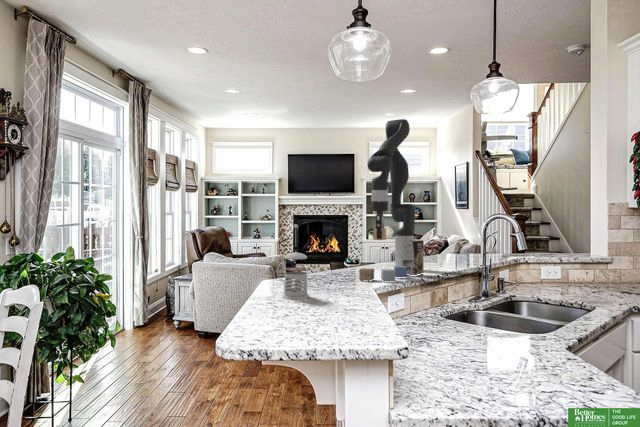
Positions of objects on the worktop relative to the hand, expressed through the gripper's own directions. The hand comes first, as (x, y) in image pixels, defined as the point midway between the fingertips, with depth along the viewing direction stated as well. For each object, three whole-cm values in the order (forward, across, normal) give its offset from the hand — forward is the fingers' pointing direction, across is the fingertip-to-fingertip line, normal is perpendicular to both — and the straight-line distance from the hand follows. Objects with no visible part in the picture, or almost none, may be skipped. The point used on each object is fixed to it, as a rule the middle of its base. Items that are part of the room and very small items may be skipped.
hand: (379, 238), depth 201 cm
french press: (+18, +53, -24) cm, 61 cm away
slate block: (+17, +11, +4) cm, 21 cm away
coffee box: (+18, -9, +14) cm, 25 cm away
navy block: (+17, 0, +9) cm, 20 cm away
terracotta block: (0, 0, 0) cm, 0 cm away
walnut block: (+17, +11, -4) cm, 21 cm away
